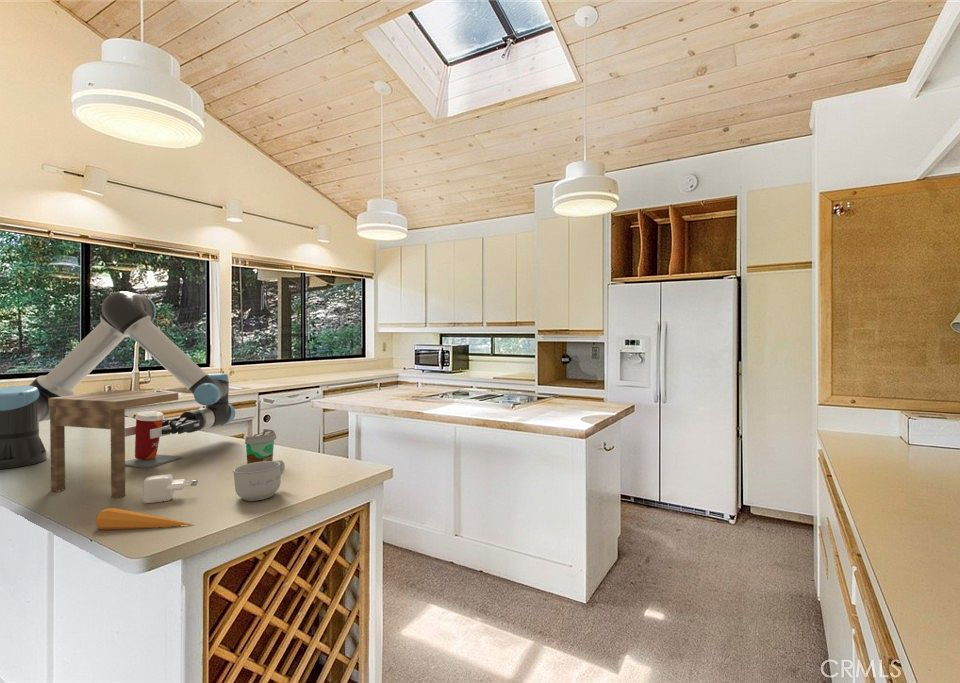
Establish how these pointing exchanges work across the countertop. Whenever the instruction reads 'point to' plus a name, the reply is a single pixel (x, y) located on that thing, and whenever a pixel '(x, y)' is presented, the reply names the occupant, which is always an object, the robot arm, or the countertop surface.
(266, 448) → the food container
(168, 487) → the power adapter
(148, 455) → the paper cup
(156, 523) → the carrot
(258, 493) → the teacup
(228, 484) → the countertop surface
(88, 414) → the canopy shelf
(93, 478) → the countertop surface
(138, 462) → the slate mat
